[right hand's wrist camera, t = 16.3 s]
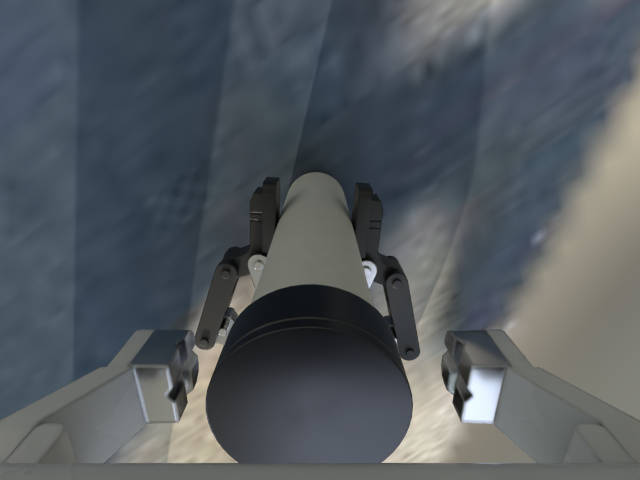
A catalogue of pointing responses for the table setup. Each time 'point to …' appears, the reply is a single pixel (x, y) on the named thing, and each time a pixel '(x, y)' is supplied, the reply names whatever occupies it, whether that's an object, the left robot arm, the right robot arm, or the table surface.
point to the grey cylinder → (314, 241)
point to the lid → (309, 381)
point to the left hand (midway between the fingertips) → (317, 184)
